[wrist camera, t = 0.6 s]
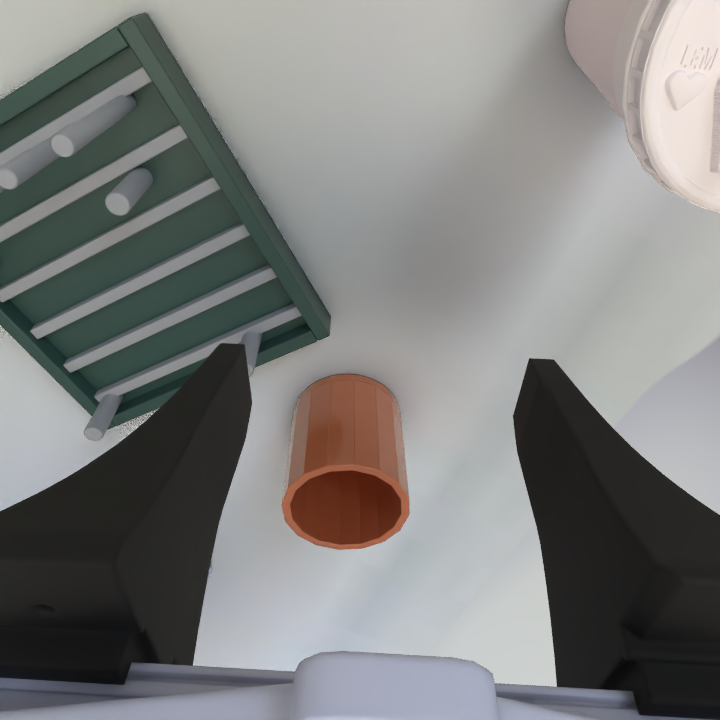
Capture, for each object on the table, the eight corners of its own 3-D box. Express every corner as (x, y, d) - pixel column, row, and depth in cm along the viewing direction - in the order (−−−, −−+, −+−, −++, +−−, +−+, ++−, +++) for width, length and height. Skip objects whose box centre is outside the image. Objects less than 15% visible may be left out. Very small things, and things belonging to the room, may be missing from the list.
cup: (325, 466, 31) (320, 562, 26) (274, 397, 28) (258, 490, 24) (416, 433, 30) (428, 528, 25) (371, 358, 27) (376, 448, 22)
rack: (117, 409, 29) (66, 509, 24) (-109, 173, 22) (-250, 242, 17) (331, 316, 26) (326, 407, 21) (146, 11, 19) (70, 34, 14)
